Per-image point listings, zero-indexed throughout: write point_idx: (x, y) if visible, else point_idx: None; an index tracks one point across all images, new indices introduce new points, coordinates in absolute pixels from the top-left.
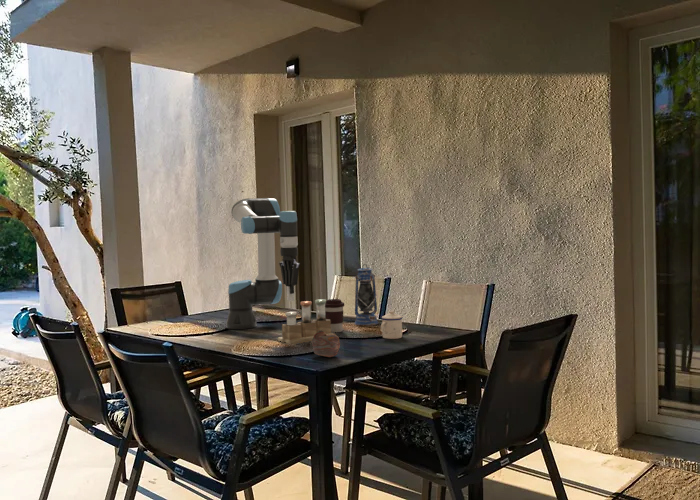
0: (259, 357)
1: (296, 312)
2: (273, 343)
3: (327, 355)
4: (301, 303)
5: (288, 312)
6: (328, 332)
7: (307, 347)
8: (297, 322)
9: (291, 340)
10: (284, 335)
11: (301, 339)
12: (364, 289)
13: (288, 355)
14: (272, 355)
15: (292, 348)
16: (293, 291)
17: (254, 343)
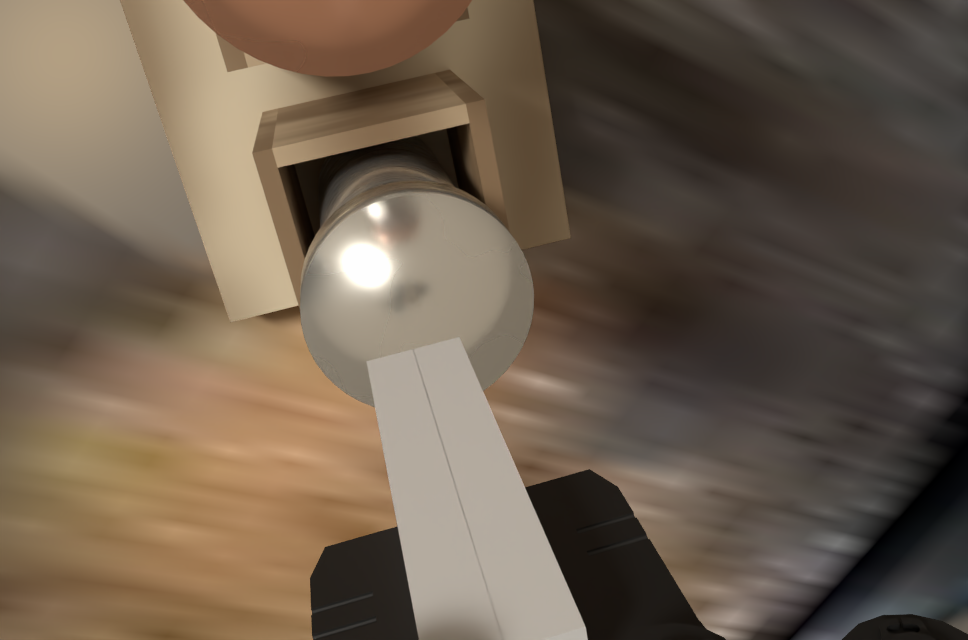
0: (854, 615)
1: (481, 218)
2: None
3: None
4: (374, 68)
5: (376, 349)
6: None
7: (796, 143)
8: (236, 69)
9: (522, 239)
10: None
11: (541, 110)
12: None
13: (960, 415)
14: (865, 522)
15: (732, 295)
16: (630, 528)
17: (239, 550)
